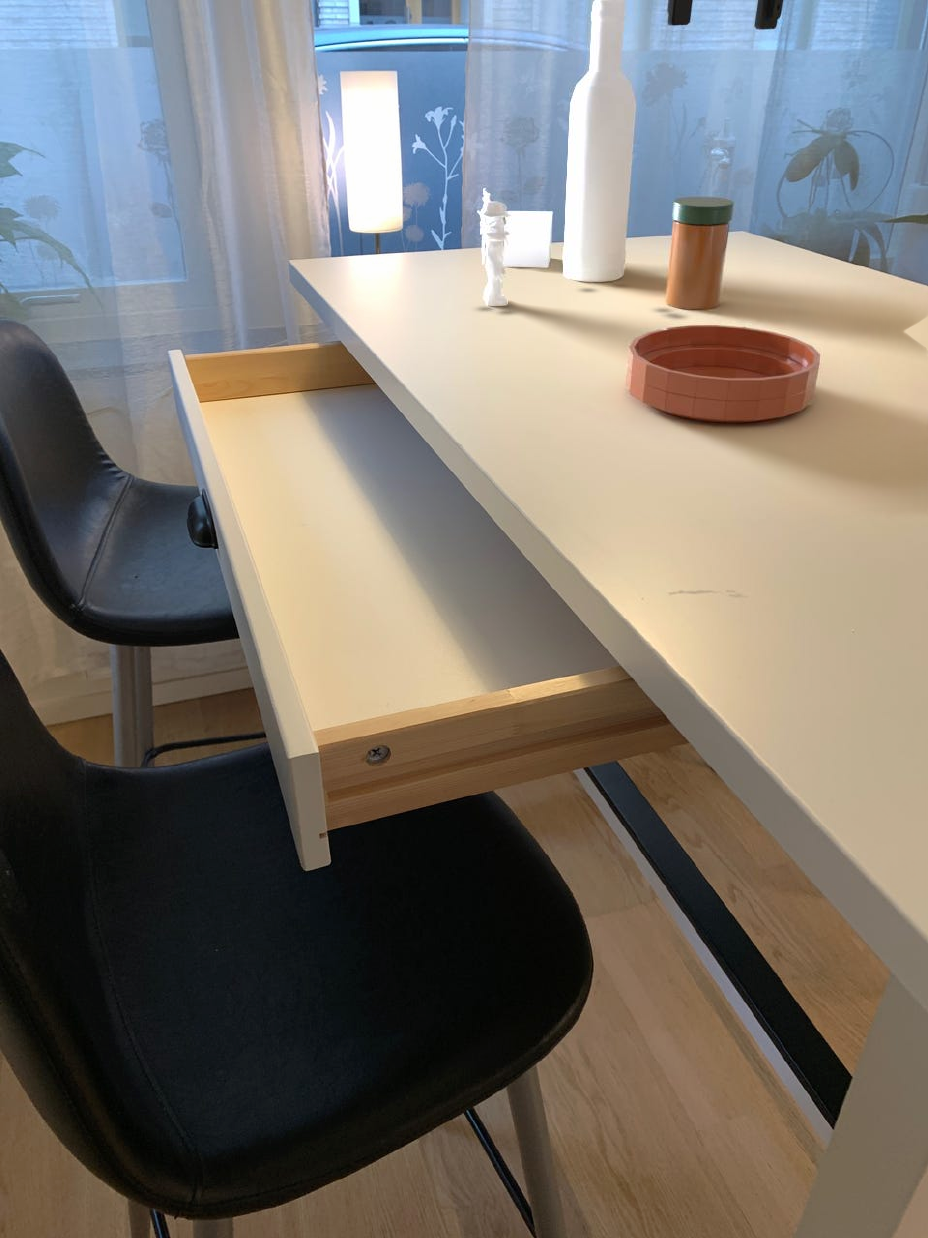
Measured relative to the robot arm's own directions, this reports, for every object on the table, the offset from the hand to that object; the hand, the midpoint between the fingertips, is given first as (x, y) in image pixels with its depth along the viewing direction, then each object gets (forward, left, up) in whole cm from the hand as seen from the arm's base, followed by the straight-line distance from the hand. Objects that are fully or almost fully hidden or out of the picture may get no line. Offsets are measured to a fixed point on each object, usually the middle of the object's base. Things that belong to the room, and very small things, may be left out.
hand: (720, 26), depth 96 cm
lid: (-1, -4, -17) cm, 18 cm away
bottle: (+9, -18, -28) cm, 34 cm away
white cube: (+17, -26, -28) cm, 42 cm away
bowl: (+3, +28, -28) cm, 39 cm away
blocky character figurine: (+22, -5, -28) cm, 36 cm away
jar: (-1, -4, -28) cm, 28 cm away
